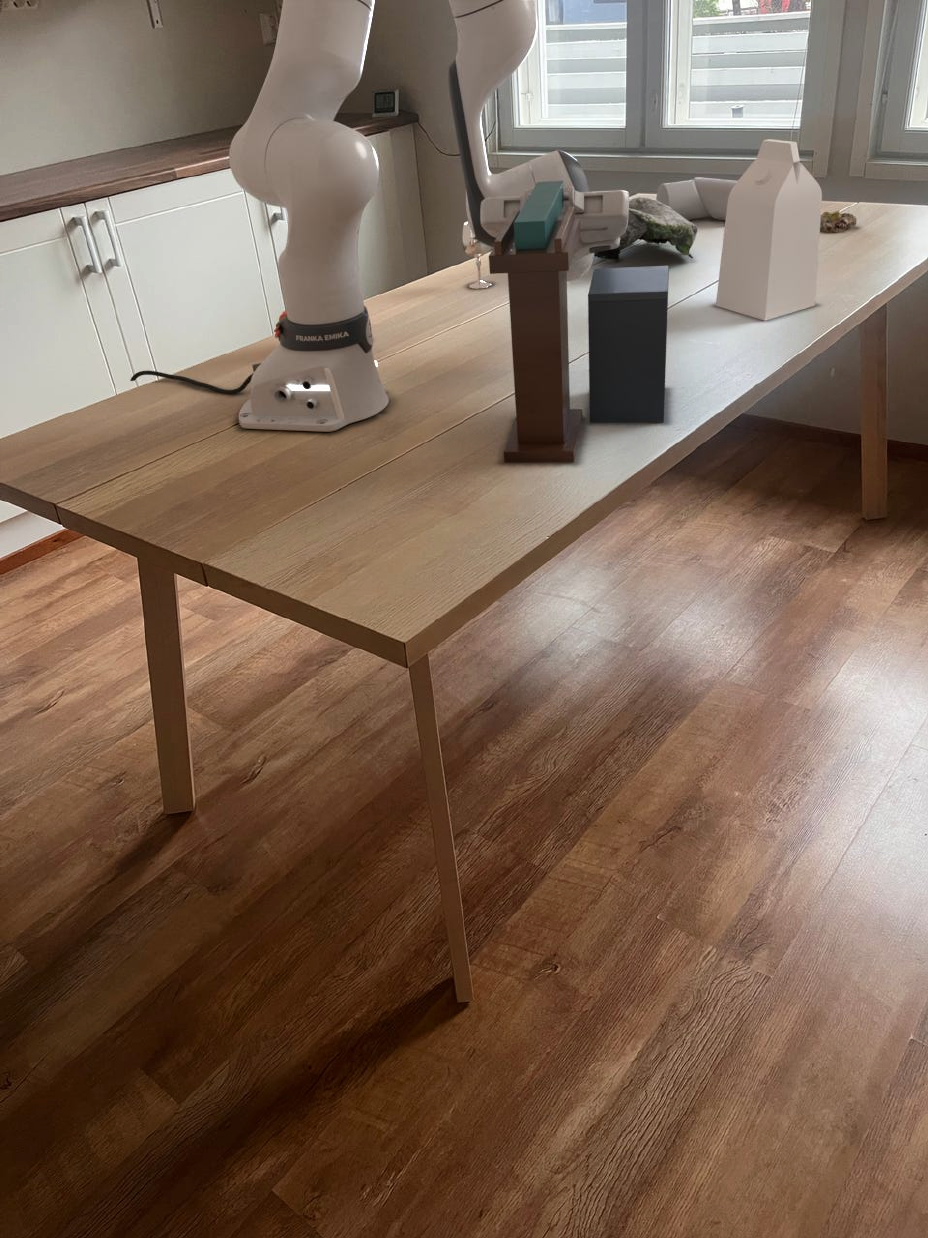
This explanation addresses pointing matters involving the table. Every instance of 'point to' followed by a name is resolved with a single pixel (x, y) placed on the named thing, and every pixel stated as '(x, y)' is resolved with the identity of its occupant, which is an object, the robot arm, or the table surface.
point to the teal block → (539, 216)
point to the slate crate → (627, 344)
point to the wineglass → (474, 252)
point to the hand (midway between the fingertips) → (548, 193)
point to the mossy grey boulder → (654, 228)
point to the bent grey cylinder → (697, 197)
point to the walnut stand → (540, 343)
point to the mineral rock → (837, 221)
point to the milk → (771, 236)
